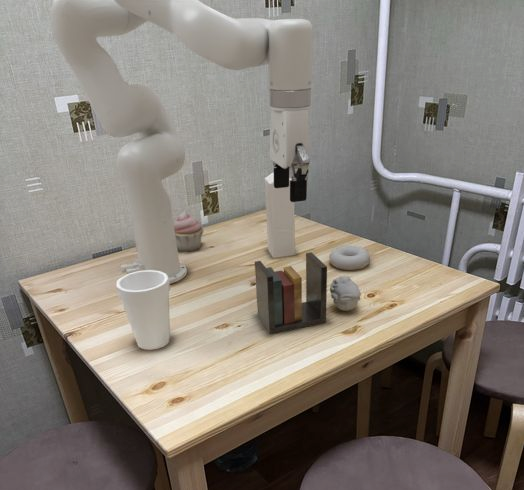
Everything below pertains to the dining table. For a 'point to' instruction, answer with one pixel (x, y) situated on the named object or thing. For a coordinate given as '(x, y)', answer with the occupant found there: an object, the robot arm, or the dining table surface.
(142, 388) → the dining table surface
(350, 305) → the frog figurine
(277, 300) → the book rack
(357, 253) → the donut
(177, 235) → the cupcake
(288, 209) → the milk
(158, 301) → the foam cup
